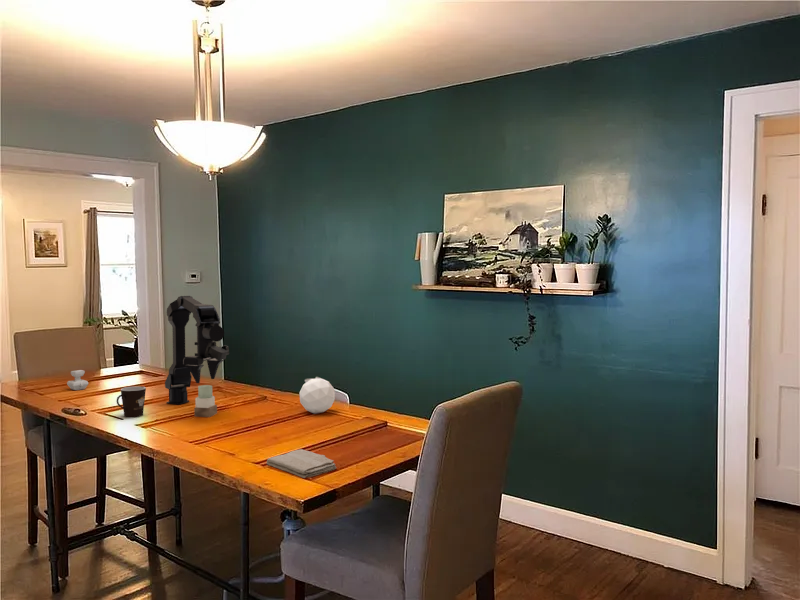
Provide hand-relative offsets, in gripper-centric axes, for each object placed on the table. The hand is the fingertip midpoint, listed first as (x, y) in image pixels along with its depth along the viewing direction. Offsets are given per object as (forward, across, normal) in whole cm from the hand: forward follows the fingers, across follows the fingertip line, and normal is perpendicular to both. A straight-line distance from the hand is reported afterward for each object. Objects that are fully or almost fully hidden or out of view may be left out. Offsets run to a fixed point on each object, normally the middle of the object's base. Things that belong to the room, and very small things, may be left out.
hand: (205, 381), depth 235 cm
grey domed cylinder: (+6, 0, 0) cm, 6 cm away
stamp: (+13, +22, +82) cm, 86 cm away
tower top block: (+10, 0, 0) cm, 10 cm away
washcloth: (+14, -43, -61) cm, 76 cm away
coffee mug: (+13, -11, +25) cm, 30 cm away
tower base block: (+13, 0, 0) cm, 13 cm away
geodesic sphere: (+13, +18, -37) cm, 43 cm away
